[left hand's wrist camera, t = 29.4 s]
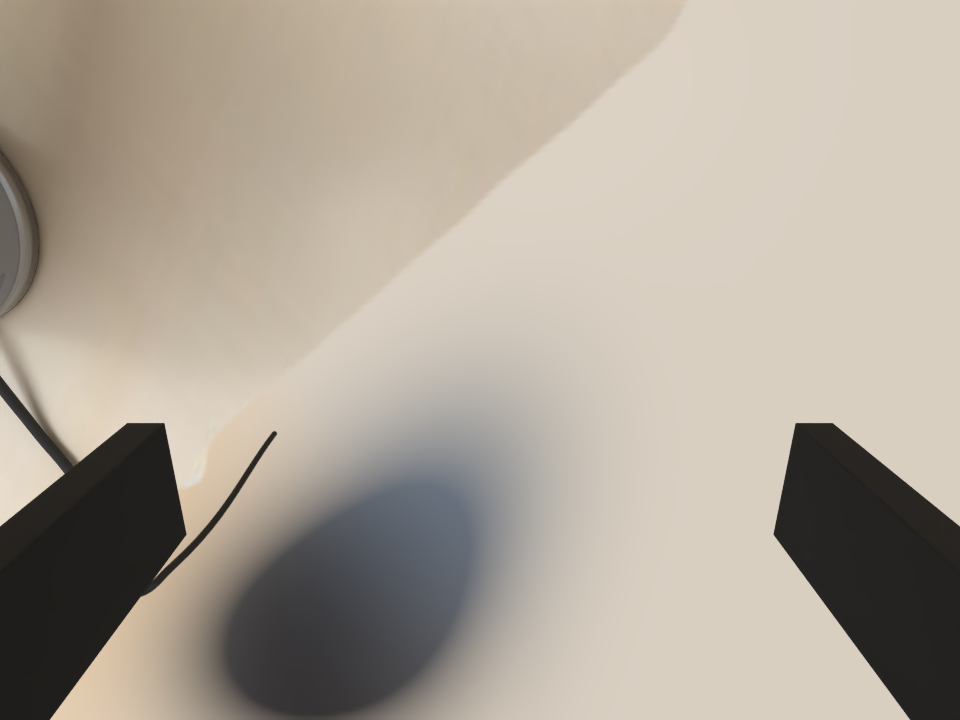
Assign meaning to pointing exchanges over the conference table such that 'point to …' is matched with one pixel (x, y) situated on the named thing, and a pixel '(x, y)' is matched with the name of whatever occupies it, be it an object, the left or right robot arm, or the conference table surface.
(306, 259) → the conference table surface
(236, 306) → the conference table surface
